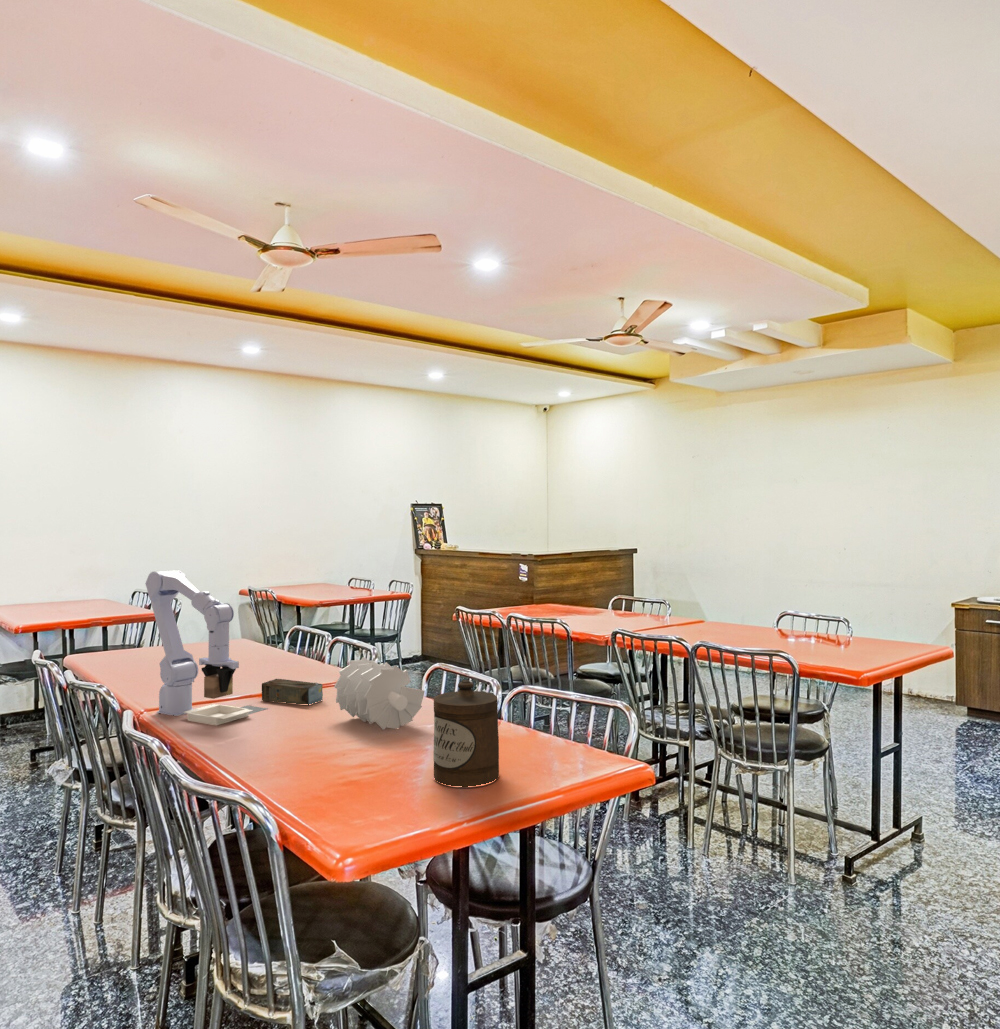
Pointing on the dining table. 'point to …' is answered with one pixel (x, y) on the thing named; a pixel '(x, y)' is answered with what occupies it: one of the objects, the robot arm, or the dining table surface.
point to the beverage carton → (291, 691)
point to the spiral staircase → (377, 693)
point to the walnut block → (215, 687)
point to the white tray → (216, 714)
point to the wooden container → (466, 737)
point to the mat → (254, 709)
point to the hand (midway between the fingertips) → (218, 691)
